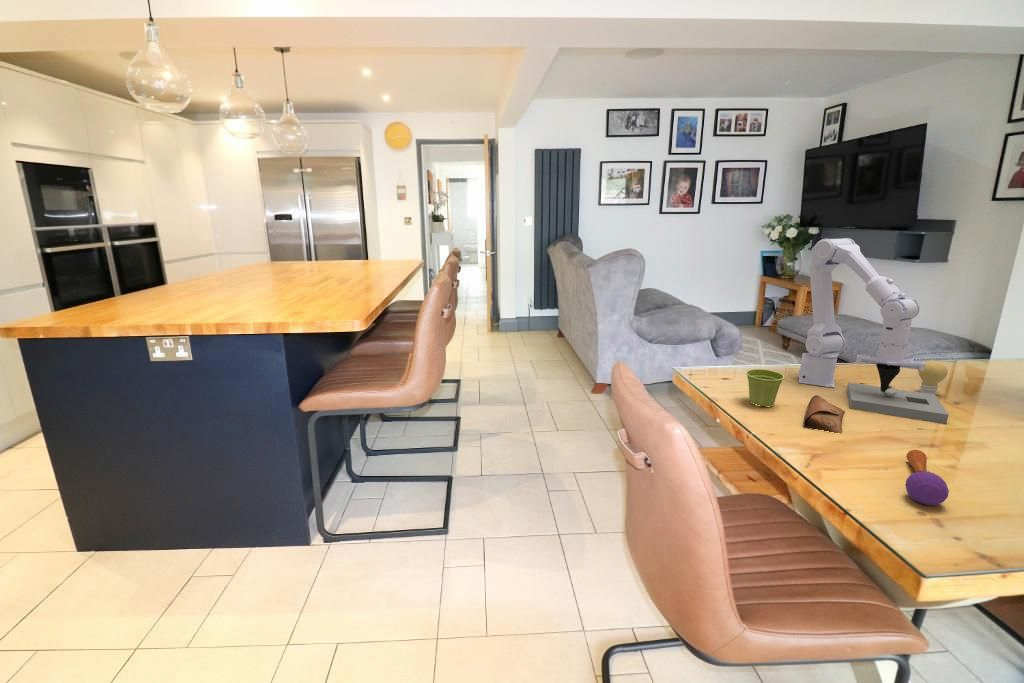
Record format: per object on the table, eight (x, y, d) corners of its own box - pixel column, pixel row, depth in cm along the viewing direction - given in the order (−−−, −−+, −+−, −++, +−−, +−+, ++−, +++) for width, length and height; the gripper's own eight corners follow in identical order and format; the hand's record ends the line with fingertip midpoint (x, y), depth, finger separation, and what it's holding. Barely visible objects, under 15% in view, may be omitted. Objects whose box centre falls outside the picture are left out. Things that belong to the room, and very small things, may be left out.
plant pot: (765, 412, 128) (769, 382, 126) (735, 401, 137) (738, 372, 134) (787, 406, 133) (792, 376, 130) (757, 395, 141) (760, 367, 139)
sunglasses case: (844, 435, 115) (831, 410, 115) (812, 442, 119) (800, 418, 119) (845, 410, 129) (834, 388, 130) (817, 418, 133) (806, 396, 134)
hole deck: (850, 408, 131) (851, 399, 130) (846, 390, 144) (848, 382, 143) (946, 423, 121) (948, 414, 120) (933, 402, 134) (935, 394, 133)
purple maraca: (940, 451, 99) (957, 488, 83) (927, 475, 101) (942, 517, 85) (905, 438, 102) (915, 472, 86) (893, 463, 104) (901, 500, 88)
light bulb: (931, 390, 143) (938, 358, 141) (947, 398, 137) (955, 364, 135) (908, 389, 144) (915, 357, 141) (923, 397, 138) (931, 364, 135)
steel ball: (880, 389, 132) (894, 386, 130) (879, 385, 134) (893, 382, 132) (884, 399, 132) (899, 396, 130) (884, 395, 134) (898, 392, 132)
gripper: (861, 343, 129) (852, 390, 133) (931, 350, 122) (920, 400, 125) (859, 337, 135) (851, 383, 139) (925, 344, 128) (915, 392, 131)
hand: (883, 391), depth 132 cm, fingers closed, pressing on steel ball
